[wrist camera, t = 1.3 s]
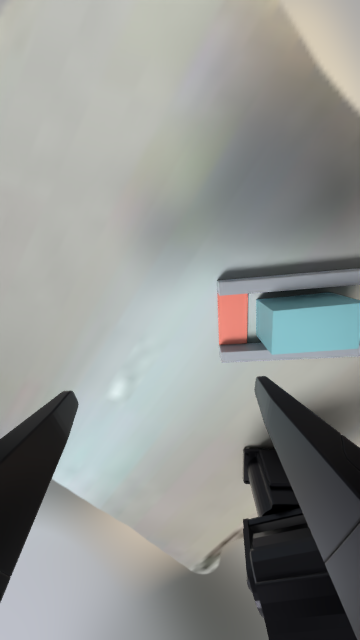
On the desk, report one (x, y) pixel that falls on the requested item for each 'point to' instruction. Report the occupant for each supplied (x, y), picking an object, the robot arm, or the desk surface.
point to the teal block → (308, 323)
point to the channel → (237, 290)
